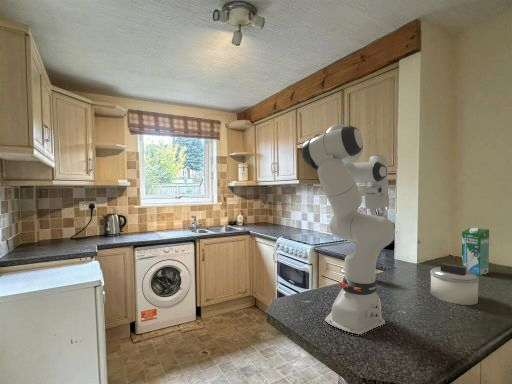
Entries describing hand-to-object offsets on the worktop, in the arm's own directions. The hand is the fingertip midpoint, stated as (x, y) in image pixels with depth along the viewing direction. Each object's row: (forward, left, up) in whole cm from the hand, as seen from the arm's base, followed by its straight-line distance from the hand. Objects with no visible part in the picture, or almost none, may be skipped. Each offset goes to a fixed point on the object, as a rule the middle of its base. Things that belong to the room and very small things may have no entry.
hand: (377, 217), depth 134 cm
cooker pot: (+11, -29, -34) cm, 46 cm away
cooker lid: (+11, -29, -24) cm, 39 cm away
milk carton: (+61, -30, -34) cm, 76 cm away
